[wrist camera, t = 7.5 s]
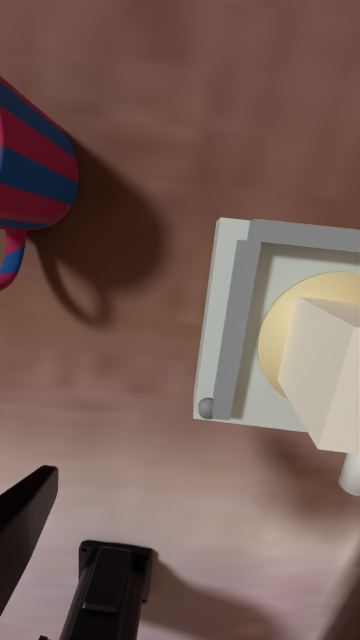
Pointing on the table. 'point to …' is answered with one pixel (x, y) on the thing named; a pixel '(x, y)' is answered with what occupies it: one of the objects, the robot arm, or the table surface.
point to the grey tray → (264, 312)
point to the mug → (31, 175)
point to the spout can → (326, 378)
